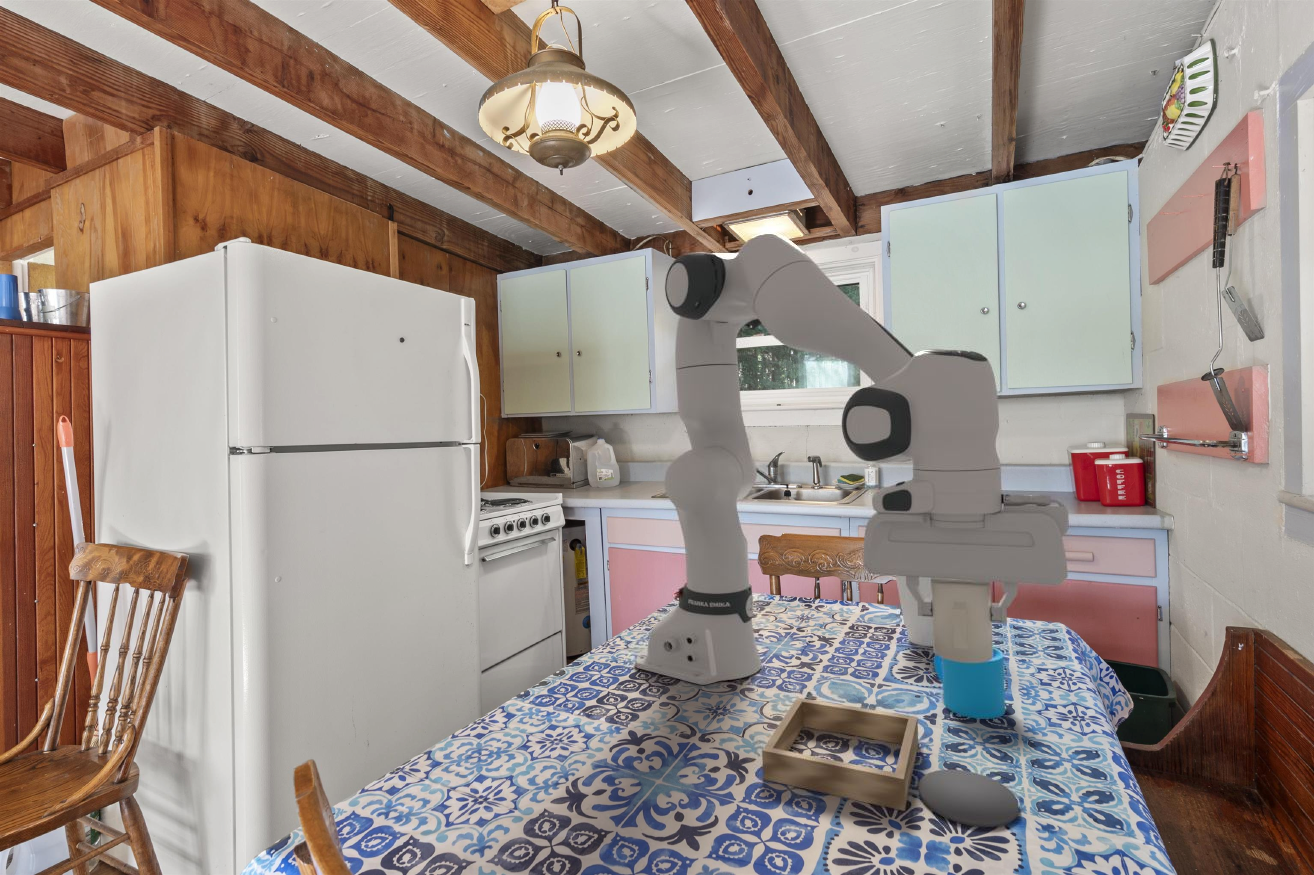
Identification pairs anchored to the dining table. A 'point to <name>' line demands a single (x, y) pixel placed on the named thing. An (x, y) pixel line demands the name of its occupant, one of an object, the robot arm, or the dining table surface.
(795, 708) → the holder
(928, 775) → the grey oval disc
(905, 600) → the cup
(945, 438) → the robot arm
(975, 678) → the mug
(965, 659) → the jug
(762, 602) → the dining table surface
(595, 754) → the dining table surface
